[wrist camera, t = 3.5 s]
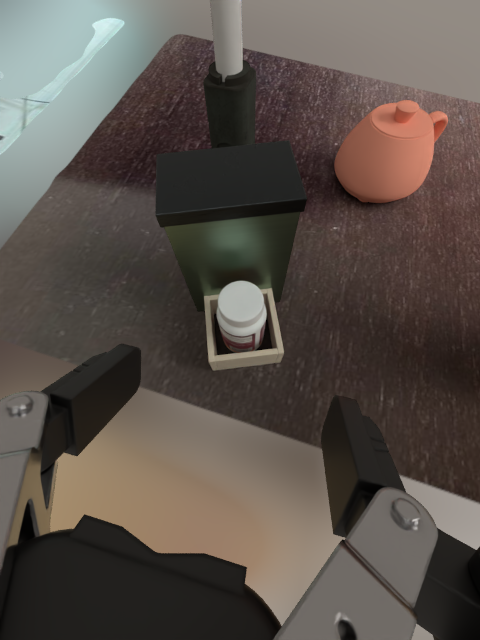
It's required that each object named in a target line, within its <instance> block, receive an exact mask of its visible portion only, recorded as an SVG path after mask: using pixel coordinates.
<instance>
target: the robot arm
mask: <svg viewBox="0 0 480 640" xmlns="http://www.w3.org/2000/svg"><path fill="white" fill-rule="evenodd" d="M140 380H141V350H140V348H138V347H134V346H129V345H125V344H119V345H118V346H116V347H115V348H114V349H112V350H111V351H109V352H108V353H107V352H105V353H102V354H99V355H96V356H94V357H92V358H90V359H89V360H87V361H86V362H84V363H83V364H82V365H80V366H78V367H77V368H75V369H74V370H73V371H71V372H69V373H68V374H66V375H65V376H63V377H62V378H60V379H59V380H57V381H56V382H54V383H53V384H51V385H50V386H48V387H47V388H45V389H44V390H42V391H41V392H38V391H24V392H19V393H15V394H12V395H9V396H7V397H5V398H2V399H1V400H0V640H411V639H412V636H413V633H414V629H415V626H416V623H417V624H418V625H420V626H421V627H423V628H424V629H425V630H427V631H428V632H430V633H431V634H432V635H433V637H434V640H480V547H479V548H478V549H477V550H475V549H473V548H471V547H470V546H468V545H466V544H464V543H462V542H461V541H459V540H457V539H455V538H453V537H452V536H450V535H448V534H446V533H444V532H443V531H441V530H440V529H438V528H437V527H436V524H435V522H434V520H433V518H432V517H431V515H430V514H429V512H428V511H427V510H426V509H425V508H424V506H422V504H420V503H419V502H418V501H417V500H416V499H415V498H413V497H412V496H410V495H409V494H407V493H406V491H405V488H404V486H403V484H402V481H401V479H400V476H399V474H398V472H397V469H396V467H395V465H394V462H393V460H392V458H391V455H390V454H389V453H388V452H389V450H388V448H387V446H386V443H384V439H383V436H382V434H381V432H380V429H379V428H378V427H377V425H376V424H375V423H374V422H373V421H372V420H371V419H370V417H367V416H363V415H362V414H361V411H360V408H359V405H358V403H357V401H356V400H354V399H350V398H346V397H342V396H337V395H335V396H334V397H333V399H332V402H331V405H330V408H329V411H328V414H327V417H326V419H325V422H324V425H323V429H322V436H321V444H322V451H323V459H324V466H325V474H326V482H327V489H328V497H329V504H330V512H331V520H332V527H333V534H335V535H338V536H342V537H345V538H346V539H345V540H342V541H341V542H340V543H339V544H338V546H337V547H336V548H335V550H334V552H333V553H332V554H331V556H330V557H329V559H328V560H327V562H326V563H325V565H324V566H323V567H322V569H321V570H320V572H319V573H318V575H317V576H316V578H315V579H314V581H313V582H312V583H311V585H310V586H309V588H308V589H307V591H306V592H305V594H304V595H303V597H302V598H301V599H300V601H299V602H298V604H297V605H296V607H295V608H294V610H293V611H292V613H291V614H290V616H289V617H288V618H287V620H286V621H285V623H284V624H283V626H281V624H280V622H279V621H278V619H277V618H276V616H275V615H274V613H273V612H272V610H271V609H270V608H269V606H268V605H267V604H266V603H265V602H264V600H263V599H262V598H261V597H260V596H259V595H258V594H257V593H256V592H255V591H254V590H252V589H251V588H250V587H249V586H247V585H246V584H245V577H246V569H247V567H244V566H241V565H238V564H235V563H232V562H229V561H226V560H223V559H220V558H217V557H214V556H211V555H208V554H204V553H203V554H202V553H201V554H199V553H198V554H197V553H196V554H195V553H190V554H189V553H188V554H187V553H185V554H184V553H182V554H181V553H180V554H177V553H168V554H167V553H165V554H164V553H157V552H155V551H153V550H152V549H150V548H149V547H148V546H146V545H145V544H144V543H143V542H141V541H140V540H139V539H137V538H136V537H135V536H134V535H132V534H131V533H129V532H128V531H127V530H126V529H124V528H123V527H122V526H119V525H115V524H112V523H109V522H106V521H103V520H100V519H97V518H94V517H91V516H87V515H84V516H83V517H82V518H81V520H80V521H79V523H78V524H77V525H76V527H75V528H74V529H66V530H58V531H55V532H50V519H51V510H52V503H53V495H54V488H55V481H56V473H57V466H58V463H57V459H58V458H59V457H60V456H61V455H62V454H63V453H68V454H71V455H75V456H78V455H79V454H80V453H81V452H82V451H83V449H84V448H85V447H86V446H87V445H88V444H89V443H90V442H91V441H92V440H93V439H94V437H95V436H96V435H97V434H98V433H99V432H100V431H101V430H102V429H103V428H104V427H105V426H106V425H107V423H108V422H109V421H110V420H111V419H112V418H113V417H114V416H115V415H116V414H117V412H118V411H119V410H120V409H121V408H122V407H123V406H124V405H125V404H126V403H127V402H128V401H129V400H130V399H131V397H132V396H133V395H134V394H135V393H136V391H137V390H138V387H139V385H140Z"/></svg>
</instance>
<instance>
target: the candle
mask: <svg viewBox="0 0 480 640" xmlns="http://www.w3.org/2000/svg"><path fill="white" fill-rule="evenodd" d="M210 6H211V17H212V28H213V40H214V51H215V62H213V63H212V64H211V65H210V67H209V74H208V75H207V77H206V78H205V79H204V91H205V99H206V107H207V115H208V122H209V130H210V138H211V146H212V148H221V147H231V146H240V145H250V144H255V97H256V71H255V69H254V68H252V67H250V65H249V63H248V62H246V61H245V60H243V55H242V0H210Z"/></svg>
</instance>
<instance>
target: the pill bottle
mask: <svg viewBox="0 0 480 640" xmlns="http://www.w3.org/2000/svg"><path fill="white" fill-rule="evenodd" d="M216 315H217V320H218V324H219V327H220V331H221V334H222V338H223V341H224V343H225V345H226V346H227V348H228V349H230V350H231V351H233V352H235V353H241V352H249V351H255V350H256V349H257V348H258V347H259V346H260V345H261V343H262V341H263V337H264V330H265V323H266V316H267V311H266V307H265V304H264V297H263V294H262V292H261V290H260V289H259V288H258V287H257V286H256V285H254V284H252V283H250V282H247V281H236V282H232V283H230V284H228V285H227V286H225V287H224V288H223V289H222V291H221V292H220V294H219V297H218V308H217V313H216Z"/></svg>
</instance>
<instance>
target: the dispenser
mask: <svg viewBox="0 0 480 640" xmlns="http://www.w3.org/2000/svg"><path fill="white" fill-rule="evenodd" d="M306 201H307V196H306V193H305V190H304V187H303V183H302V180H301V177H300V174H299V171H298V167H297V164H296V161H295V158H294V154H293V151H292V148H291V145H290V142H289V140H288V141H278V142H269V143H259V144H250V145H240V146H231V147H221V148H212V149H203V150H193V151H184V152H174V153H165V154H157V168H156V217H157V220H158V222H159V225H160V227H164V228H165V230H166V233H167V235H168V238H169V240H170V243H171V245H172V248H173V251H174V253H175V256H176V258H177V261H178V263H179V266H180V268H181V271H182V273H183V276H184V278H185V281H186V283H187V286H188V288H189V291H190V293H191V296H192V298H193V301H194V303H195V306H196V308H197V311H205V303H204V296H210V295H218V294H220V292H221V291H222V289H223V288H224V287H225V286H227V285H228V284H230V283H232V282H236V281H247V282H250V283H252V284H254V285H256V286H257V287H258V288H259V289H260V290H261V289H269V288H272V292H273V298H274V302H280V299H281V295H282V291H283V286H284V282H285V277H286V273H287V268H288V264H289V259H290V255H291V251H292V246H293V242H294V237H295V233H296V228H297V224H298V220H299V215H300V212H303V211H304V209H305V205H306Z"/></svg>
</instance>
